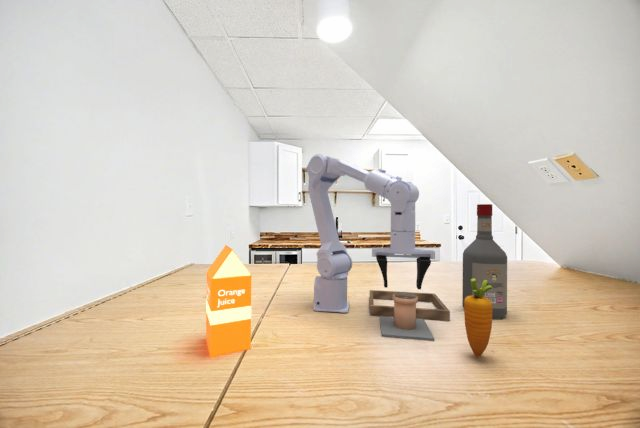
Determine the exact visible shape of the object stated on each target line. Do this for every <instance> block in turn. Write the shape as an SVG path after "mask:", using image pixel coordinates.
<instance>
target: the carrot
mask: <svg viewBox="0 0 640 428" xmlns="http://www.w3.org/2000/svg"><path fill="white" fill-rule="evenodd" d="M470 282H471V286H472V290H473V293H474V295H472V296H467V297H466V298H465V300H464V308H463V310H464V311H463V312H464V314H463V315H464V325H465V326H464V327H465V332H466V337H467V341H468V343H469V347H470V349H471V350H472V353H473V354H474V356H475V357H476V358H480V357H481V356H482V355H483V354H484V352H485V351H486V349H487V347H488V345H489V341H490V337H491V334H492V333H491V332H492V326H493V319H492V311H493V307H492V303H491V301H490V300H489V299H488V298H485V297H483V295H484V294H485V293H486V292H487V291H488V290H489V289H492V286H490V285H489V286H486V284H487V282H488V281H487V280H484V281H483V283H482V286H481V288H480V289H478V286H477V284H476V279H474V278H473V279H471V281H470ZM485 286H486V287H485Z"/></svg>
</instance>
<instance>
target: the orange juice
mask: <svg viewBox="0 0 640 428" xmlns="http://www.w3.org/2000/svg"><path fill="white" fill-rule="evenodd" d="M205 273H206V293H205V294H206V296H205V297H206V299H205V310H206V311H205V312H206V314H205V318H206V319H205V339H206V345H207V350H208V353H209V358H215V357H220V356H225V355H228V354H233V353H238V352H242V351H246V350H250V349H251V348H252V341H251V339H252V274H251V273H250V271H249V270H248V269H247V267H246V266H245V264H244V263H243V262H242V260H241V259H240V258H239V256H238V255H237V253H235V251H234V249H233V248H231V247H230V246H228V245H227V244H225V246H224V247H223V248H222V250H221V251H220V252H219V254H218V255H217V257H216V258H215V260H214V261H213V262H212V264H211V265H210V266H209V268H208V269H207V270H206V272H205Z"/></svg>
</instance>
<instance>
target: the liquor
mask: <svg viewBox="0 0 640 428" xmlns="http://www.w3.org/2000/svg"><path fill="white" fill-rule="evenodd" d="M476 216H477V224H476V227H477V229H476V230H477V231H476V235H475V238H474V240H473V241H472V242H471V243H470V244H469V245H467V247H466V248H465V249H463V250H464V251H463V252H462V303H461V304H462V309H464V300H465V298H466V297H467V296H472V295H474V293H473V290H472V286H471V282H470V281H471V279H473V278H474V279H476V284H477V286H478V289H480V288H481V286H482V283H483V281H484V280H487V281H488V282H487V284H486V286H489V285H490V286H492V289H489V290H488V291H487V292H486V293H485V294H484V295H483V297H485V298H488V299H489V300H490V301H491V303H492V307H493V311H492V320H495V319H496V320H503V319H504V318H505V317H506V316H507V314H508V255H507V253H506V252H505V250H504V249H503V248H501V247H500V245H499V244H498V243H497V242H495V240H494V235H493V232H492V231H493V223H492V222H493V221H492V220H493V219H492V218H493V204H491V203H490V204H488V203H486V204H483V203H480V204H479V203H478V204H476ZM486 286H485V287H486Z"/></svg>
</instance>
